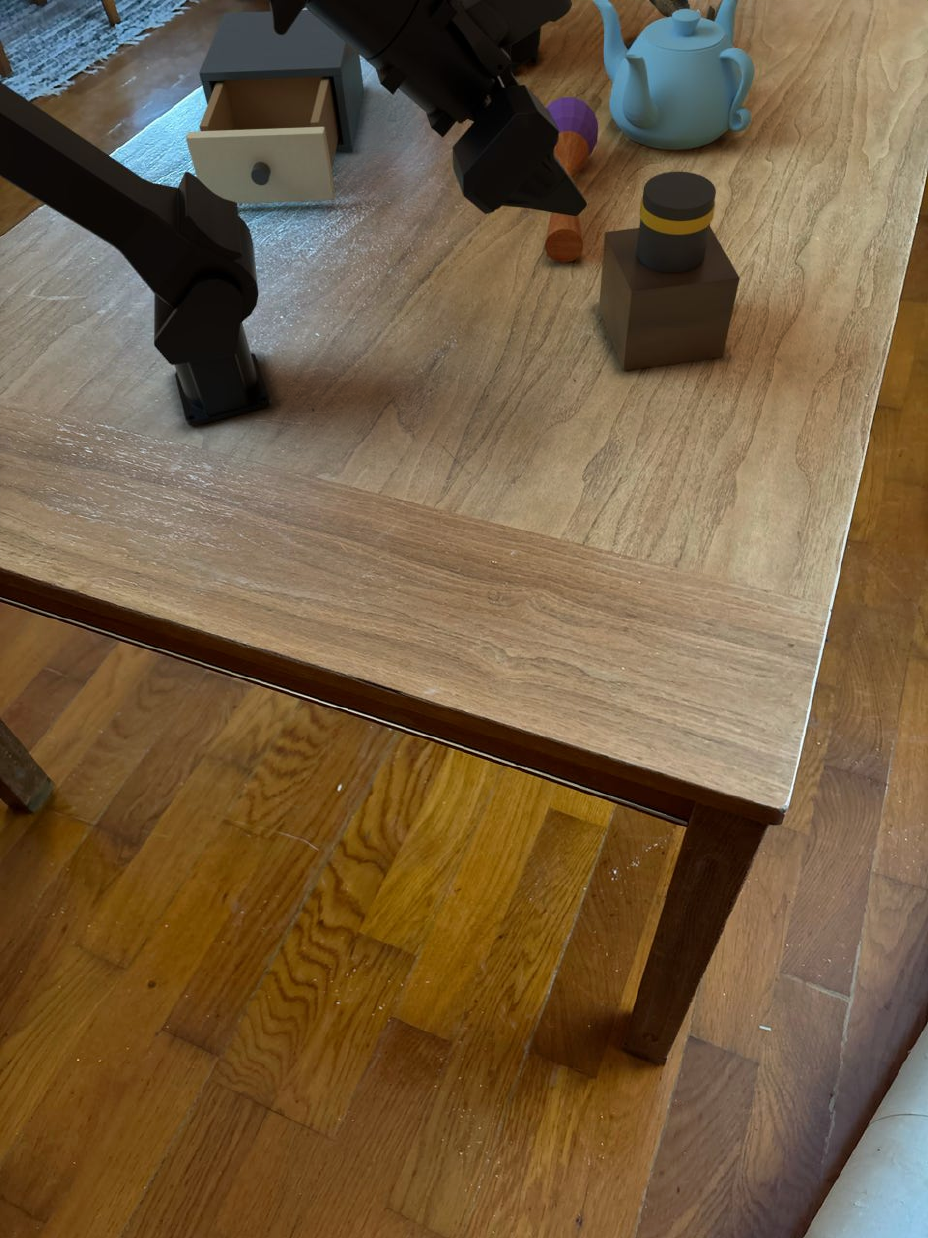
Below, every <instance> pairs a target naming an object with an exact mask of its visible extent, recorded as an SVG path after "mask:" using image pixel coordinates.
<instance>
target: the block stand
mask: <svg viewBox="0 0 928 1238" xmlns="http://www.w3.org/2000/svg"><path fill="white" fill-rule="evenodd" d="M638 235H639V227H633V228H627V229H626V228H625V229H619V230H618V229H617V230H612V231H605V232H604V239H603V240H604V241H603V252H602V265H601V276H600V277H601V278H600V290H599V301H598V312H599V315H600V317H601V319H602V322H603V324H604V326H605V329H606V333H607V334H608V336H609V339H610V342H611V345H612V347H613V349H614V351H615V355H616V357H617V359H618V361H619V364H620V366H621V369H622V371H623V372H624V371H632V370H640V369H645V368H654V367H660V366H661V367H662V366H668V365H676V364H682V363H689V362H690V363H691V362H698V361H705V360H711V359H719V358H723V357H724V353H725V349H726V344H727V339H728V334H729V330H730V326H731V321H732V317H733V311H734V308H735V302H736V299H737V294H738V286H739V283H740V279H741V277H740V276H739V274H738V272H737V270H736V269H735V267H734V265H733V263H732V262H731V260H730V258H729V257H728V255H727V253H726V251H725V250H724V247H723V245H721V243H720V241H719V239H718V237H717V236H716V233H715V232H714V230H713V229H712V227H711V226H710V229H709V235H708V240H707V246H706V252H705V257H704V260H703V261H702V263H701V264H700V265H699V266H697V267H696V268H694V269H692V270H690V271H686V272H681V273H663V272H659V271H655V270H652V269H650V268H648V267H646V266H645V265H643V264H642V263H641V262H640V260H639V259H638V257H637V244H638Z"/></svg>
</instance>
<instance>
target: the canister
mask: <svg viewBox="0 0 928 1238" xmlns="http://www.w3.org/2000/svg"><path fill="white" fill-rule="evenodd" d="M642 190H643V191H642V196H641V199H640V203H639V204H640V206H639V218H640V219H639V227H638V228H639V235H638V244H637V257H638V259H639V260H640V262H641V263H642V264H643V265H645V266H646V267H648V268H650V269H652V270H655V271H659V272H663V273H681V272H686V271H690V270H692V269H694V268H696V267H697V266H699V265H700V264H701V263H702V261H703V260H704V257H705V252H706V246H707V240H708V235H709V229H710V227H711V223H712V221H713V219H714V214H715V208H716V201H715V199H716V195H717V190H716V186H715V185H714V183H713V182H712V181H711V180H709V179H708V178H707V177H705V176H702V175H700V174H697V173H694V172H689V171H668V172H667V171H666V172H663V173H659V174H656V175H654V176H652V177H651V178H649V179H648V180H647V181H646V182H645V184H644V185H643V189H642Z"/></svg>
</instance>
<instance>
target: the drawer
mask: <svg viewBox="0 0 928 1238" xmlns="http://www.w3.org/2000/svg"><path fill="white" fill-rule="evenodd" d="M206 105H207V104H206ZM198 127H199V131H197V130H196V131H188V132H187V134H186V137H185V140H186V145H187V147H188V151H189V155H190V158H191V162H192V166H193V169H194V173H195V176H196V177H197V178H198V179H199V180H200V181H201V182H202V183H203V184H204V185H205V186H206V187H207V188H208V189H209V190H211V191H212V192H213V193H214V194H216V195H218V196H220V197H222V198H223V199H226V200H230V201H234V202H236V203H237V205H238V204H239V205H240V204H241V205H242V204H269V203H271V204H272V203H297V202H298V203H300V202H333V201H334V202H335V199H336V187H335V181H334V175H333V166H334V162H335V157H336V153H335V152H336V147H337V142H338V137H339V132H340V131H339V125H338V117H337V111H336V104H335V97H334V91H333V84H332V77H331V76H326V77H301V78H275V79H250V80H225V81H217V82H216V85H215V87H214V90H213V92H212V95H211V98H210V100H209V103H208V105H207V106H206V108H205V111H204V113H203V116H202V119H201V121H200V124H199V126H198Z"/></svg>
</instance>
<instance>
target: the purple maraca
mask: <svg viewBox="0 0 928 1238" xmlns="http://www.w3.org/2000/svg"><path fill="white" fill-rule="evenodd" d="M545 108H546V109H548V110H549V112H550V114H551V116H552V118H553V120H554V122H555V123H556V125H557V127H558V130H559V139H558V142H557V144H556V146H555V147H554V155H555V157H556V158H557V159H558V161H559V162H560V164H561V165H562V167H563V168H564V169H565V171H566V172H567V174H568V175H569V177H570V178H571V180H572V181H573V182H574V179H573V177H574V175H575V174H576V173H578V172H579V171H580V170H581V169H582V168H583V166H585V165H586V163H587V160H588V159H589V157H590V156H591V154H592V153H593V152H594V149H595V147H596V145H597V143H598V136H599V122H598V119H597V115H596V113H595V111H594V110H593V109H592V107H590V106H589V105H588V104H587V102H585V101H584V100H582V99H580V98H577V97H575V96H562V97H560V98H557V99H555V100H552V101H551V103H549V104H548V105H547V106H545ZM583 250H584V237H583V233H582V226H581V219H580V214H579V215H578V216H570V215H564V214H558V213H553V212H550V219H549V223H548V227H547V231H546V236H545V241H544V251H545V253H546V255H547V256H548V257H549V258H550V259H551V260H552V261H554V262H556V263H569V262H573V261H575V260H576V259H577V258H579V257H580V256H581V254H582V252H583Z"/></svg>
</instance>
